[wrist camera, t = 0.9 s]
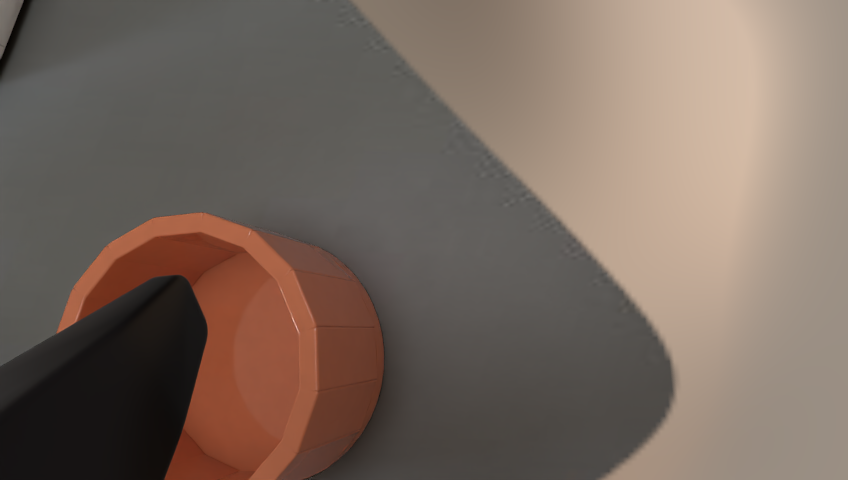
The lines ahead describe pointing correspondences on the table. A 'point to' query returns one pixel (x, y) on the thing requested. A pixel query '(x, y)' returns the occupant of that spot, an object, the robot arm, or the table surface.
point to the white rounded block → (7, 20)
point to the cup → (255, 344)
